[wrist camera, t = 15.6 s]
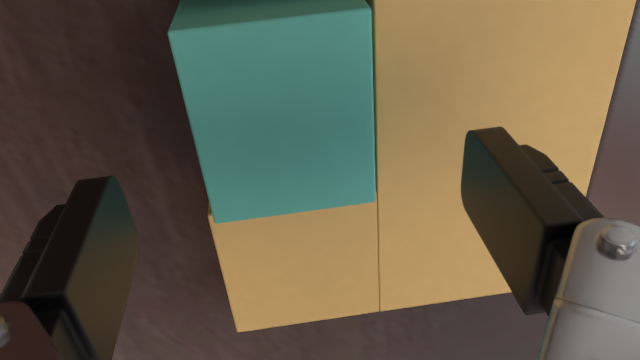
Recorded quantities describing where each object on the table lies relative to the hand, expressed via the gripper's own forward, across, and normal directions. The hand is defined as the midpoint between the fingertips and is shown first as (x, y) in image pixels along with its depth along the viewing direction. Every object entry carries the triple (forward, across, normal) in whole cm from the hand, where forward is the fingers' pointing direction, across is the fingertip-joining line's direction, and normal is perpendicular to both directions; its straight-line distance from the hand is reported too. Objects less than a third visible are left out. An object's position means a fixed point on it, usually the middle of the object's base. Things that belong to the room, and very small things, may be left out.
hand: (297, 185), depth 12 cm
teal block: (+7, 0, 0) cm, 7 cm away
